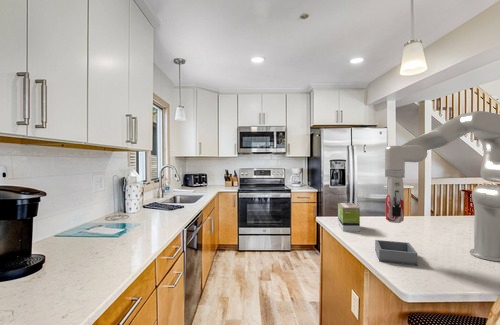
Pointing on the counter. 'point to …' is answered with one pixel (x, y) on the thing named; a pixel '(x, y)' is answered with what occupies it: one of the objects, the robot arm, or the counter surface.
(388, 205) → the soda can
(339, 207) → the tea box
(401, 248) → the gray square tray
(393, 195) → the robot arm
